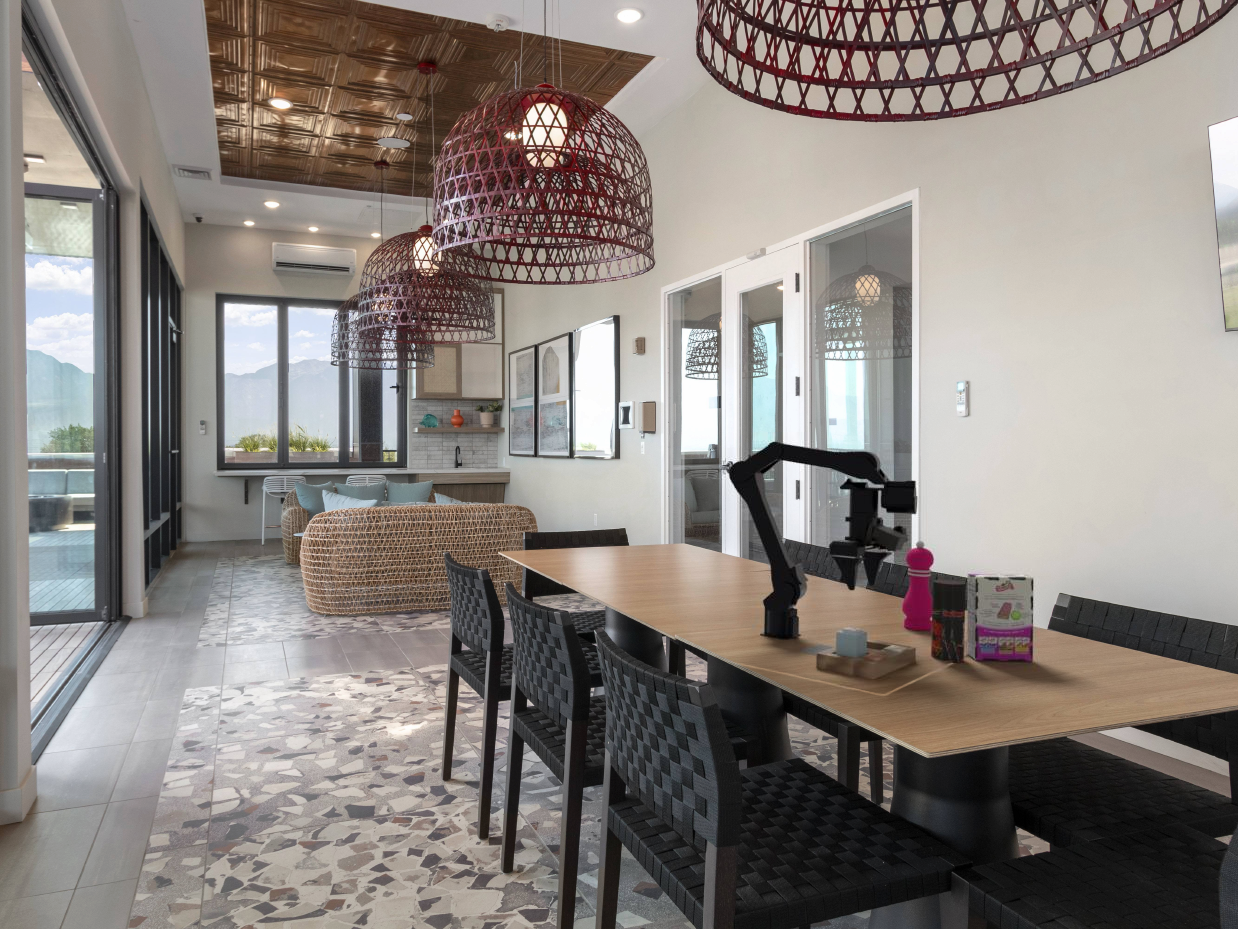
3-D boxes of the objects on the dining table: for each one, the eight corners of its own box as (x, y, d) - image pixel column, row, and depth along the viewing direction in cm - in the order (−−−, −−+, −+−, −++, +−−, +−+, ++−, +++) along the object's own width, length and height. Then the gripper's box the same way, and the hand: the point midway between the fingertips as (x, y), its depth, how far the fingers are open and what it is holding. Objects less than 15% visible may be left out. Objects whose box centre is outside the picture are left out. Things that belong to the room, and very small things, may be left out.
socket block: (816, 669, 151) (816, 651, 151) (861, 653, 165) (861, 636, 165) (873, 681, 144) (873, 662, 144) (915, 663, 157) (915, 646, 157)
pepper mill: (939, 631, 187) (942, 542, 187) (907, 630, 187) (909, 542, 187) (928, 624, 194) (930, 539, 194) (897, 624, 194) (899, 538, 194)
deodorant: (966, 663, 158) (968, 585, 158) (933, 661, 159) (935, 583, 159) (960, 656, 164) (962, 580, 163) (928, 654, 165) (930, 579, 165)
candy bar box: (1021, 656, 165) (1023, 573, 165) (1033, 662, 160) (1035, 577, 160) (964, 654, 165) (966, 572, 165) (974, 661, 160) (976, 576, 160)
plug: (835, 669, 152) (836, 628, 152) (845, 666, 155) (846, 625, 155) (855, 674, 149) (856, 632, 149) (866, 670, 152) (867, 628, 152)
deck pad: (798, 653, 164) (798, 651, 163) (821, 646, 170) (821, 644, 170) (840, 662, 157) (840, 659, 157) (862, 654, 164) (862, 652, 164)
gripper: (881, 516, 159) (879, 598, 159) (920, 512, 172) (918, 587, 173) (828, 513, 166) (826, 591, 166) (869, 509, 180) (868, 581, 180)
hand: (862, 587), depth 171 cm, fingers open, 9 cm apart
